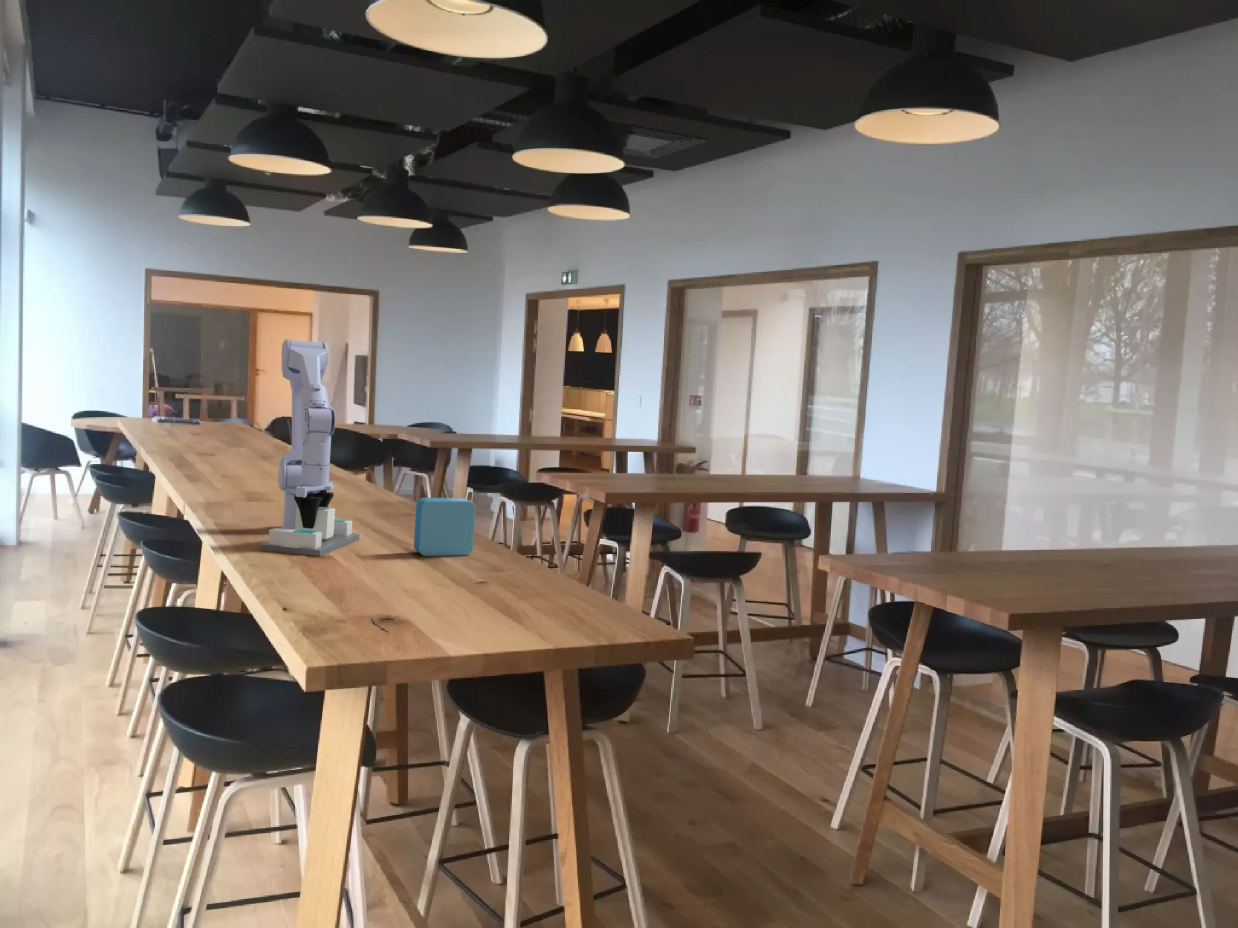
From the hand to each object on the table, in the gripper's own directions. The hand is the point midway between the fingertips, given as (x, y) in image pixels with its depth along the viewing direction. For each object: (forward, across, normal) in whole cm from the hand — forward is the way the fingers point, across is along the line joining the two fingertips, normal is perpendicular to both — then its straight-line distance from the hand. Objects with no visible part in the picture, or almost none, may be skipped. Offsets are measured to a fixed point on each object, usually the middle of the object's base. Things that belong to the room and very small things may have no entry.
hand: (312, 526), depth 208 cm
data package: (+4, +4, -28) cm, 29 cm away
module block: (+2, 0, 0) cm, 2 cm away
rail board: (+4, 0, 0) cm, 4 cm away
